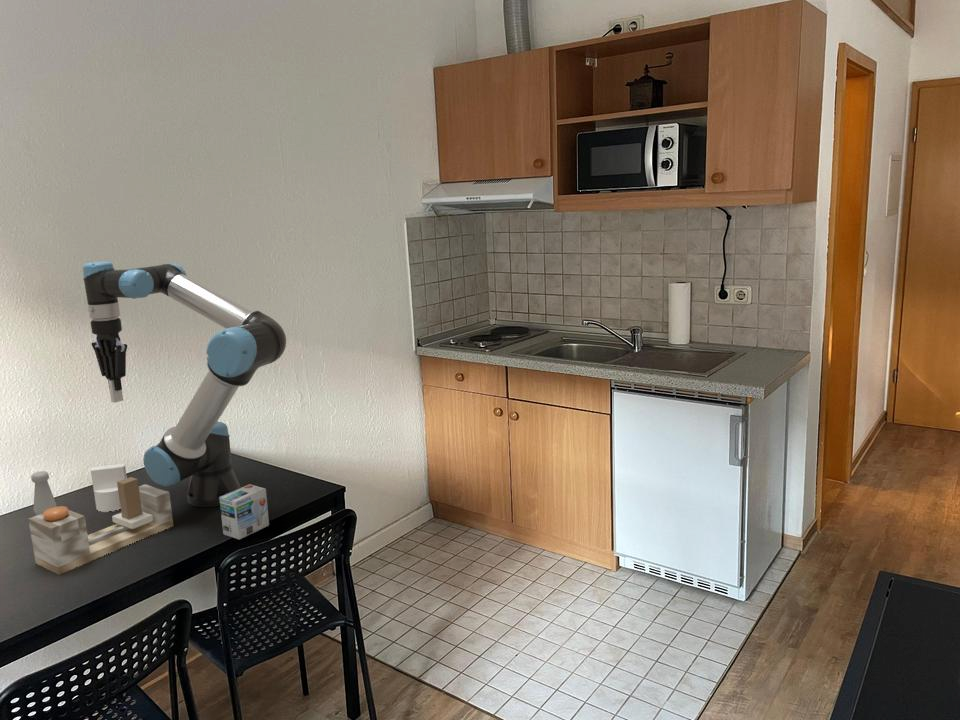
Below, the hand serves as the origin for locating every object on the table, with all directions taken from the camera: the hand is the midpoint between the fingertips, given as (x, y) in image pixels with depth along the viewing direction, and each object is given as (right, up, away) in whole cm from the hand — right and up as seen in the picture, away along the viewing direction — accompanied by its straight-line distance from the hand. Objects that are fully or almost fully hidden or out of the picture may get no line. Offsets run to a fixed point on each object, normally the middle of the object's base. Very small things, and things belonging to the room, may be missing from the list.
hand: (117, 401), depth 213 cm
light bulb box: (+40, -34, -10) cm, 53 cm away
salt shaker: (-22, -33, +3) cm, 40 cm away
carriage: (+9, -32, -11) cm, 35 cm away
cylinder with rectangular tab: (-5, -31, +8) cm, 33 cm away
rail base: (+5, -36, -17) cm, 40 cm away
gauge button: (-1, -30, -27) cm, 41 cm away
